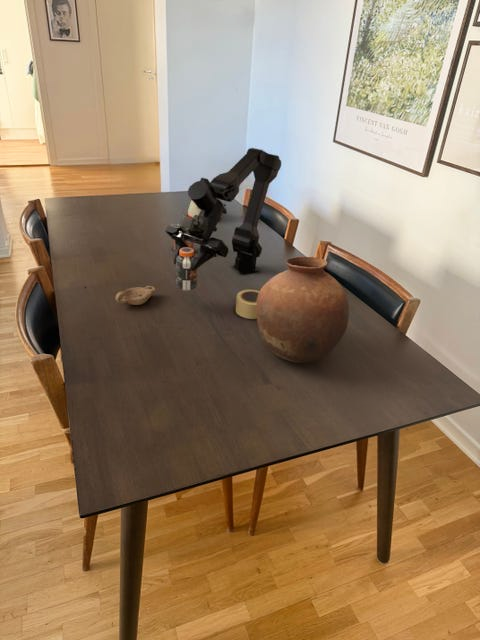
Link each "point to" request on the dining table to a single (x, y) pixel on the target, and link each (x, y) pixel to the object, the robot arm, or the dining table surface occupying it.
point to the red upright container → (187, 240)
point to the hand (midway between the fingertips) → (183, 267)
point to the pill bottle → (186, 269)
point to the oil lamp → (135, 295)
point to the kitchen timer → (193, 210)
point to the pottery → (302, 311)
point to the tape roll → (247, 304)
